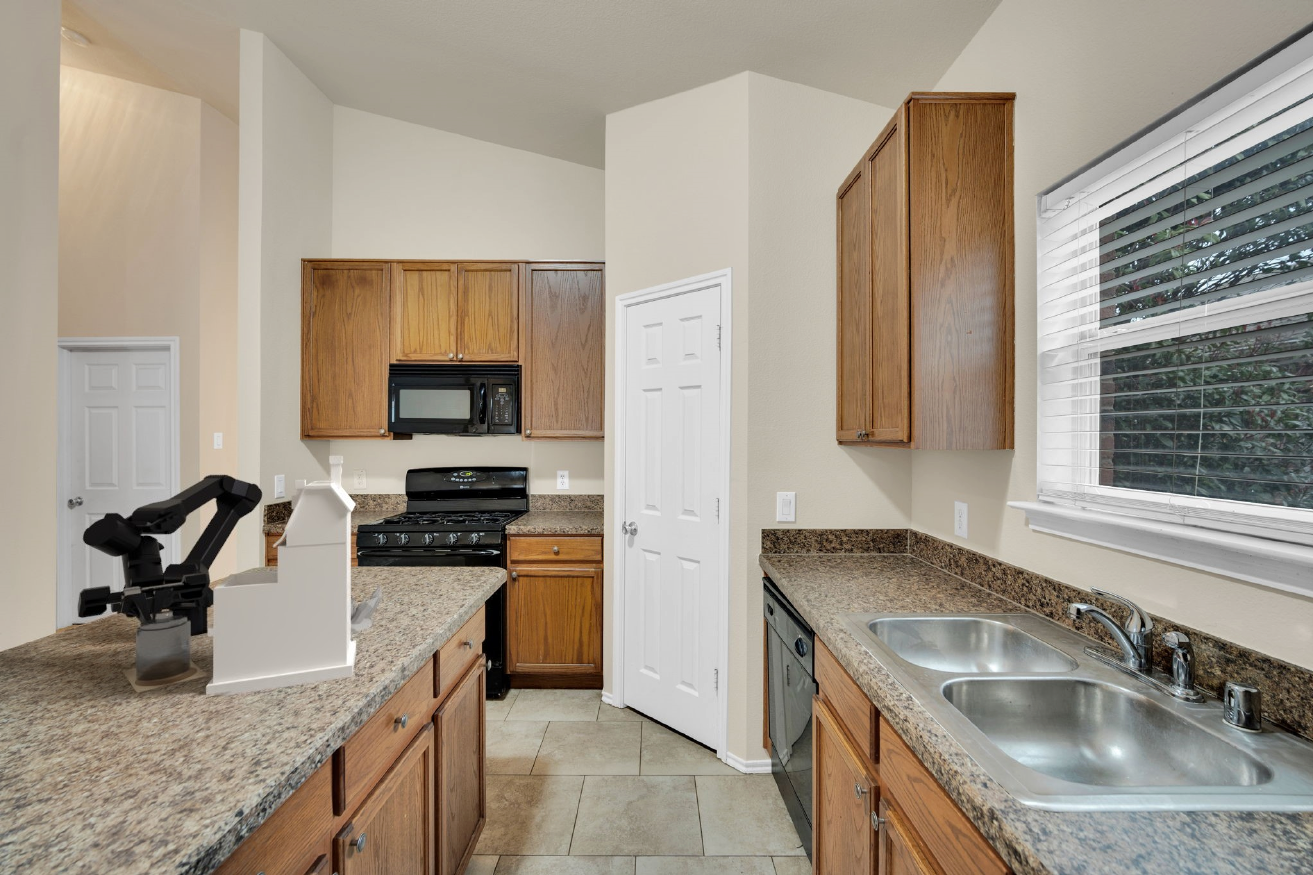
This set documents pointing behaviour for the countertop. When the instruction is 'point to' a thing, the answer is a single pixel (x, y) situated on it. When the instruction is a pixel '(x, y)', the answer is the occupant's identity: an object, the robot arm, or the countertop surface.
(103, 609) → the robot arm
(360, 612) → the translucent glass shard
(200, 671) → the tan rectangular board
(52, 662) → the countertop surface
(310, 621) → the dollhouse
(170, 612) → the grey lidded jar
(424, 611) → the countertop surface
